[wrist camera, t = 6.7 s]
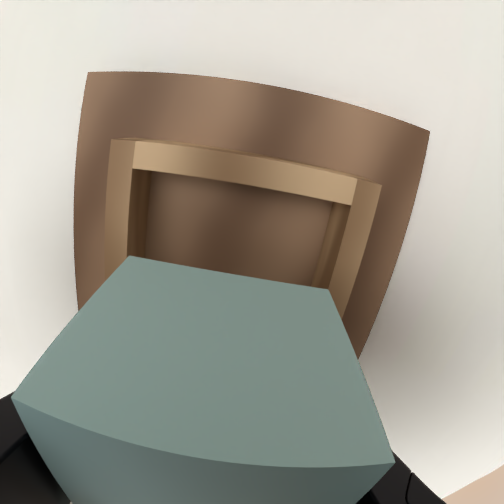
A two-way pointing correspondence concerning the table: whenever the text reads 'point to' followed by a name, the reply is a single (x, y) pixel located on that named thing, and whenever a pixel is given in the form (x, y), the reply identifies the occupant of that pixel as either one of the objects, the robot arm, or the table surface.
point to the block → (204, 394)
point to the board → (243, 185)
